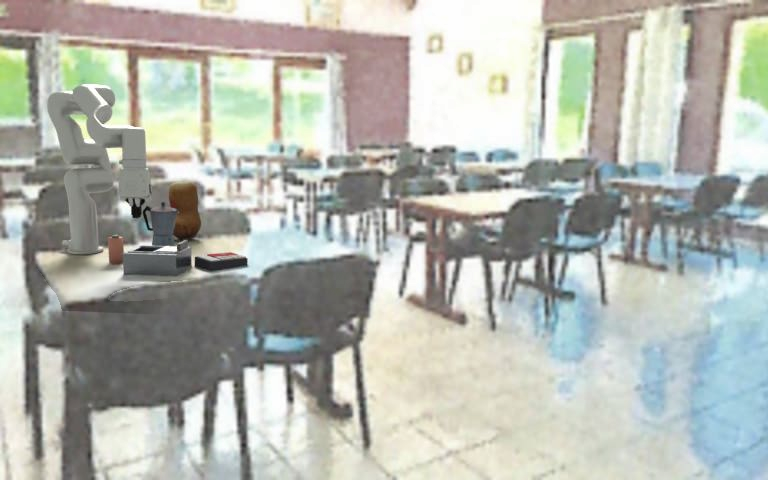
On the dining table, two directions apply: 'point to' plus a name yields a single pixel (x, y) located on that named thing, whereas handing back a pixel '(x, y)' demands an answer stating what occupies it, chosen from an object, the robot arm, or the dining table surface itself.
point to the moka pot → (161, 224)
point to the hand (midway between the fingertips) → (136, 217)
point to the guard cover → (175, 247)
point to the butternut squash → (185, 209)
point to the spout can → (115, 249)
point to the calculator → (220, 261)
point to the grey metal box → (155, 261)
